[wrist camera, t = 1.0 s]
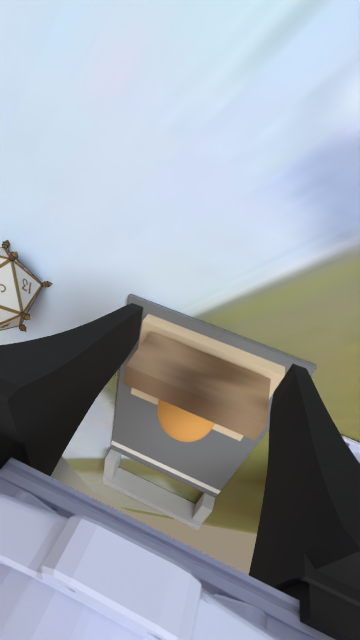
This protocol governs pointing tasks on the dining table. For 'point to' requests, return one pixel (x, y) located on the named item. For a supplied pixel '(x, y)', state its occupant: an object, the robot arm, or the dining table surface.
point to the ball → (182, 423)
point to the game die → (16, 290)
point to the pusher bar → (200, 384)
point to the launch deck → (176, 456)
